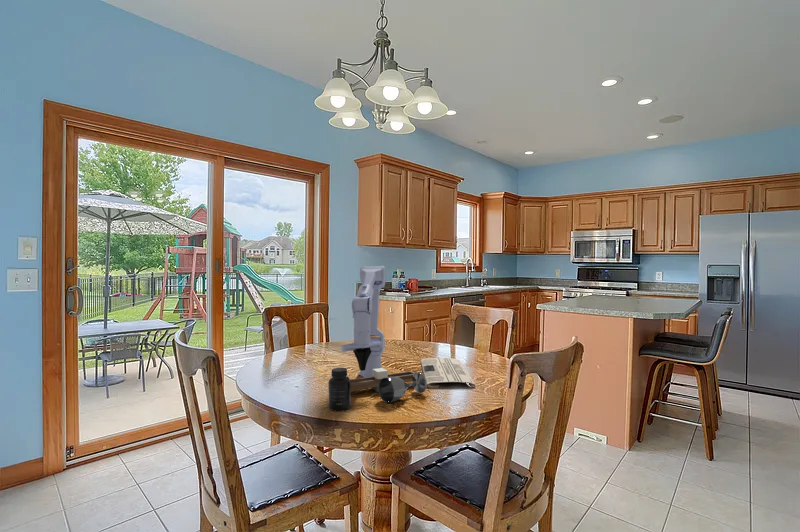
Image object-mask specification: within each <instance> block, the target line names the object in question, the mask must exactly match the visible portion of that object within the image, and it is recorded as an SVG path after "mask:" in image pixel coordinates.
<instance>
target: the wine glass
mask: <svg viewBox="0 0 800 532" xmlns="http://www.w3.org/2000/svg"><path fill="white" fill-rule="evenodd" d="M410 387H413V389H414V391H415V392H417V393H418V394H423V393H424V392H425V391H426V389H427V383H426V379H425V377H424V373H423V372H419V371H416V372H415V374H414V375H413V378H412V382H404V381H403V380H402V379H401V378H399V377H386V378H383V379H381V380H380V382H379V386H378V389H379V392H378V394H379V397H380V399H381V400H382V401H383V402H384V403H386V404H390V403H394V402H396V401H399V400H401V398H403V397H404V396H405V394H406V392H407V390H408V388H410ZM388 401H389V402H388Z"/></svg>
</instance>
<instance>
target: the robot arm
mask: <svg viewBox="0 0 800 532" xmlns="http://www.w3.org/2000/svg"><path fill="white" fill-rule="evenodd" d="M386 275H387V274H386V267H385V266H384V265H380V266H379V265H378V266H377V265H376V266H364V265H362V266H361V267H360V270H359V279H360V281H361V285H360V286H359V288H358V290H357V292H356V293H357V294H356V296H355V297H354V298H352V301H351V310H352V318H353V342H352V343H347V344H342V345H341V352H343V353H345V352H348V351H349V352H350V351H352V352H353V354H354V356H355V358H356V360H357V364H358V368H359V370H360V371H359V372H357V374H358V375H360V376H361V378H365V377H372V376H373V369H378V368H382V354H383V353H384V352H385V350H386V349H385V347H386V341H385V334H384V332H383V331H381V330H380V329H379V313H380V312H379V310H380V293H381V289H384V288H385V285H386Z"/></svg>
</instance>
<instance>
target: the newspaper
mask: <svg viewBox="0 0 800 532" xmlns="http://www.w3.org/2000/svg"><path fill="white" fill-rule="evenodd" d="M420 364H421V369H422V374H423V375H424V377H425V379H426V383H427V386H426V388H427V389H428V388H440V385H439V383H465V382H467V383H469V385H470V386H471V387H470V388H473V386H474V388H476V383H475V381H473V378H472V377H471V375H470V374H469V373H468V370H466V368H465V367H464V364H462V361H461V360H459V359H457V358H452V357H433V358H432V357H430V358H428V357H427V358H422V359H420Z"/></svg>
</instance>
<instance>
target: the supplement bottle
mask: <svg viewBox="0 0 800 532" xmlns="http://www.w3.org/2000/svg"><path fill="white" fill-rule="evenodd" d="M327 385H328V408H329V410H331V409H332V410H331V411H333V410H336V411H335V412H342V410H344V411H347V410H349V409H350V407H351V402H352V401H351V400H352V399H351V396H352V395H351V392H352V391H351V389H350V377H348V369H347V368H346V367H334V368H332V369H331V374H330V379H329V380H328V384H327ZM346 409H347V410H346Z"/></svg>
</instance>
